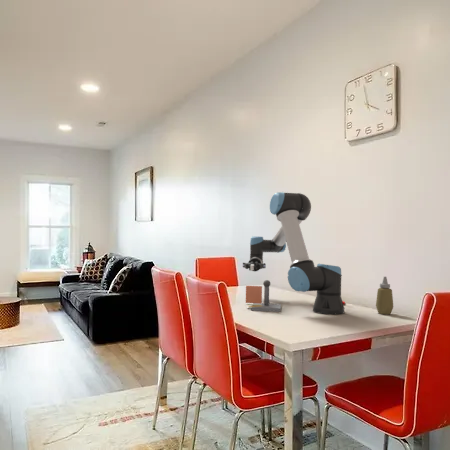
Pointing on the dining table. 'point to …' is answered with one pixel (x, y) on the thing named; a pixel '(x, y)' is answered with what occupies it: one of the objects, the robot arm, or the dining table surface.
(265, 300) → the lever
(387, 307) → the squeeze bottle
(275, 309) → the grey flat block
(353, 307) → the dining table surface
